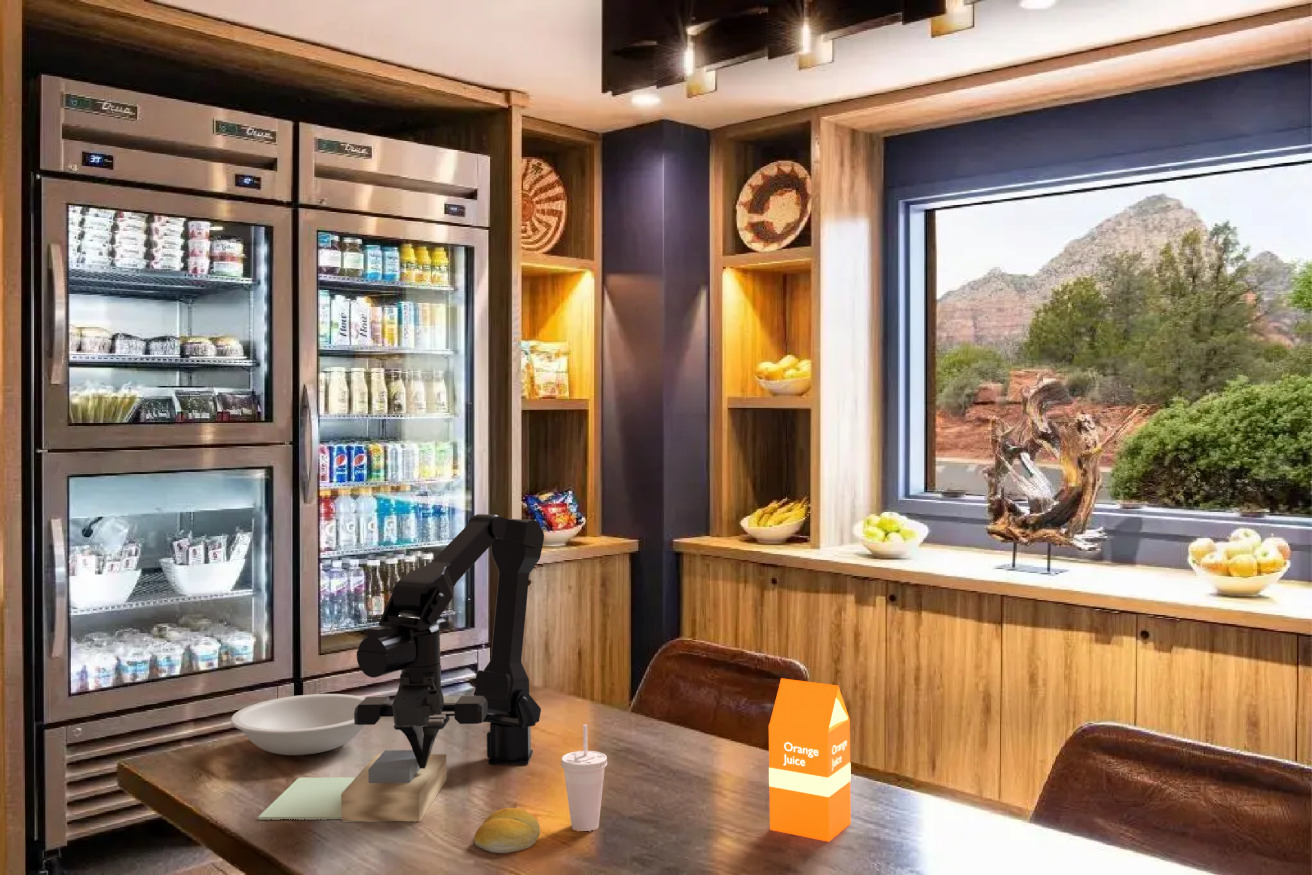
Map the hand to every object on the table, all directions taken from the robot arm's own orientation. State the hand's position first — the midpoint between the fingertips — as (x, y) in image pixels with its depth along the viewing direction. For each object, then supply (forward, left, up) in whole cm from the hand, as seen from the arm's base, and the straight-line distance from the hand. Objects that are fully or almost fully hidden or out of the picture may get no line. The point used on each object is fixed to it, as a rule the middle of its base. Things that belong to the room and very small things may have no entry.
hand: (423, 767), depth 170 cm
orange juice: (-56, +11, -5) cm, 57 cm away
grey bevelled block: (+4, 0, -1) cm, 4 cm away
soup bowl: (+26, -25, -5) cm, 36 cm away
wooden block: (+4, 0, -5) cm, 6 cm away
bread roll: (-15, +16, -5) cm, 22 cm away
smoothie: (-25, +11, -5) cm, 28 cm away
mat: (+16, -1, -5) cm, 17 cm away
